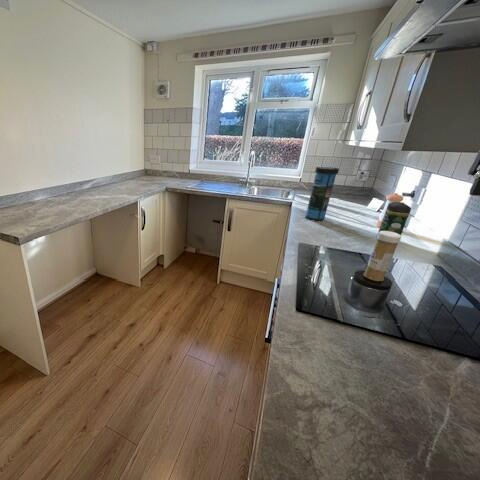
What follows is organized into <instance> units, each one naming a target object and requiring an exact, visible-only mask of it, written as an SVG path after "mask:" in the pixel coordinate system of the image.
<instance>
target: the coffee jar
mask: <svg viewBox="0 0 480 480" xmlns="http://www.w3.org/2000/svg"><path fill="white" fill-rule="evenodd" d="M411 212H412V207H411V206H409V205H408V204H406V203H405V202H403V201H401V202H392V203H389V204H388V207H387V209H386V212H385V215H384V218H383V221H382V224H381V226H380V228H379V230H378V231H377V235H376V237H377V236H378V233H379V232H380V231H390V232H394V233H398V234H400V235H401V236H402V234H403V232H404V229H405V226H406V223H407V221H408V218H409V217H410V214H411Z"/></svg>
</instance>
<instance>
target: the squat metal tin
mask: <svg viewBox="0 0 480 480" xmlns="http://www.w3.org/2000/svg"><path fill="white" fill-rule="evenodd" d="M365 271H366V270H356V271H354V272H353V274H352V275H351V277H350V279H349V283H348V285H347V288H346V292H345V294H344V297H343V298H344V301H345V302H346V303H347V305H349V306H350V307H353V308H354V309H356V310H358V311H362V312H364V313H368V314H381V313H382V312H383V311H384V309H385V307H386V305H387V302H388V300H389V297H390V295H391V292H392V290H393V281H392V280H391V279H390V278H388V277H387V276H386V275H385V276H384V280H383V281H373V280H370V279H368V278H366V277H365V276H364V273H365ZM362 317H364V318H366V316H364V315H363V316H362ZM367 318H369V319H376V318H377V317H376V316H367Z"/></svg>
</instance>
